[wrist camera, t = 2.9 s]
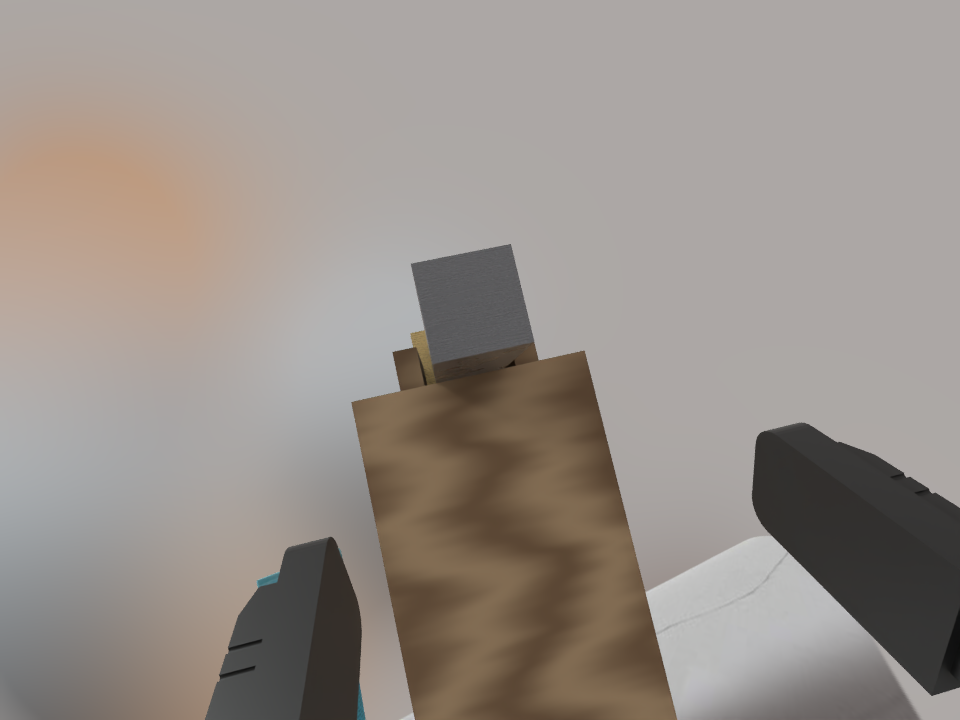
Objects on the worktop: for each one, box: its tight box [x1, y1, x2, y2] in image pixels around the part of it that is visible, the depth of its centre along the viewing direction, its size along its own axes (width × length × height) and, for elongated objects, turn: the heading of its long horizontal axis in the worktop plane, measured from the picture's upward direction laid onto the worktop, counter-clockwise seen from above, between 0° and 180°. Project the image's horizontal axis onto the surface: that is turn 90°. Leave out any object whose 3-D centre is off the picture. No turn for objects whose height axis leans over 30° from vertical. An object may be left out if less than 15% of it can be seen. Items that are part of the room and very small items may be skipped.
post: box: [352, 343, 677, 720], centre depth 31 cm, size 12×14×34 cm
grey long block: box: [411, 244, 534, 385], centre depth 28 cm, size 6×21×4 cm, turn 4°
